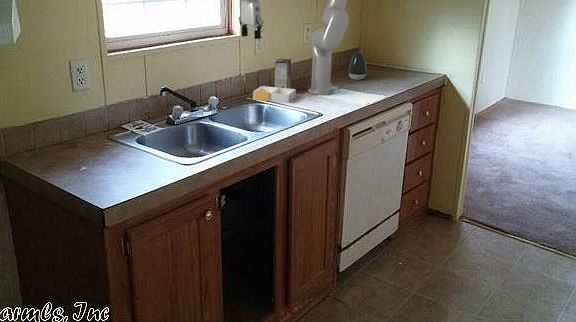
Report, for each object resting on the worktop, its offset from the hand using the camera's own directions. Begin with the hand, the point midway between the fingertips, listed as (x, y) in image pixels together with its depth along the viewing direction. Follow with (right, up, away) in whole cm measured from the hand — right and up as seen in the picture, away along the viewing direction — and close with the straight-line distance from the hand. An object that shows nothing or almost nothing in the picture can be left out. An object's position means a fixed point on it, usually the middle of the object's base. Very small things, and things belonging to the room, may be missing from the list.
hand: (251, 37), depth 251 cm
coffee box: (+15, -23, +21) cm, 34 cm away
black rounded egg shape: (+56, -11, +54) cm, 79 cm away
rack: (+11, -27, +9) cm, 31 cm away
